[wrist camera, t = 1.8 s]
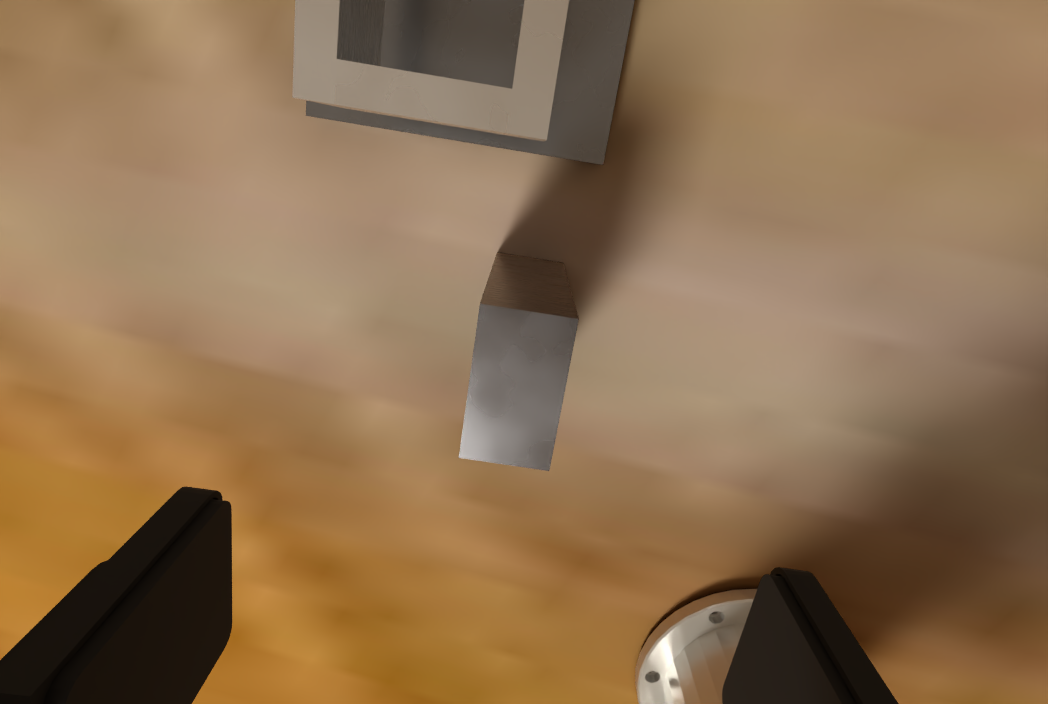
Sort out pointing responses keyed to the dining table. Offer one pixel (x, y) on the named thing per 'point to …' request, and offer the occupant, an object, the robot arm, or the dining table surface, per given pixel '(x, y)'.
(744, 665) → the robot arm
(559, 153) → the grey boxy fixture
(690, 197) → the dining table surface
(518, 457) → the grey block
